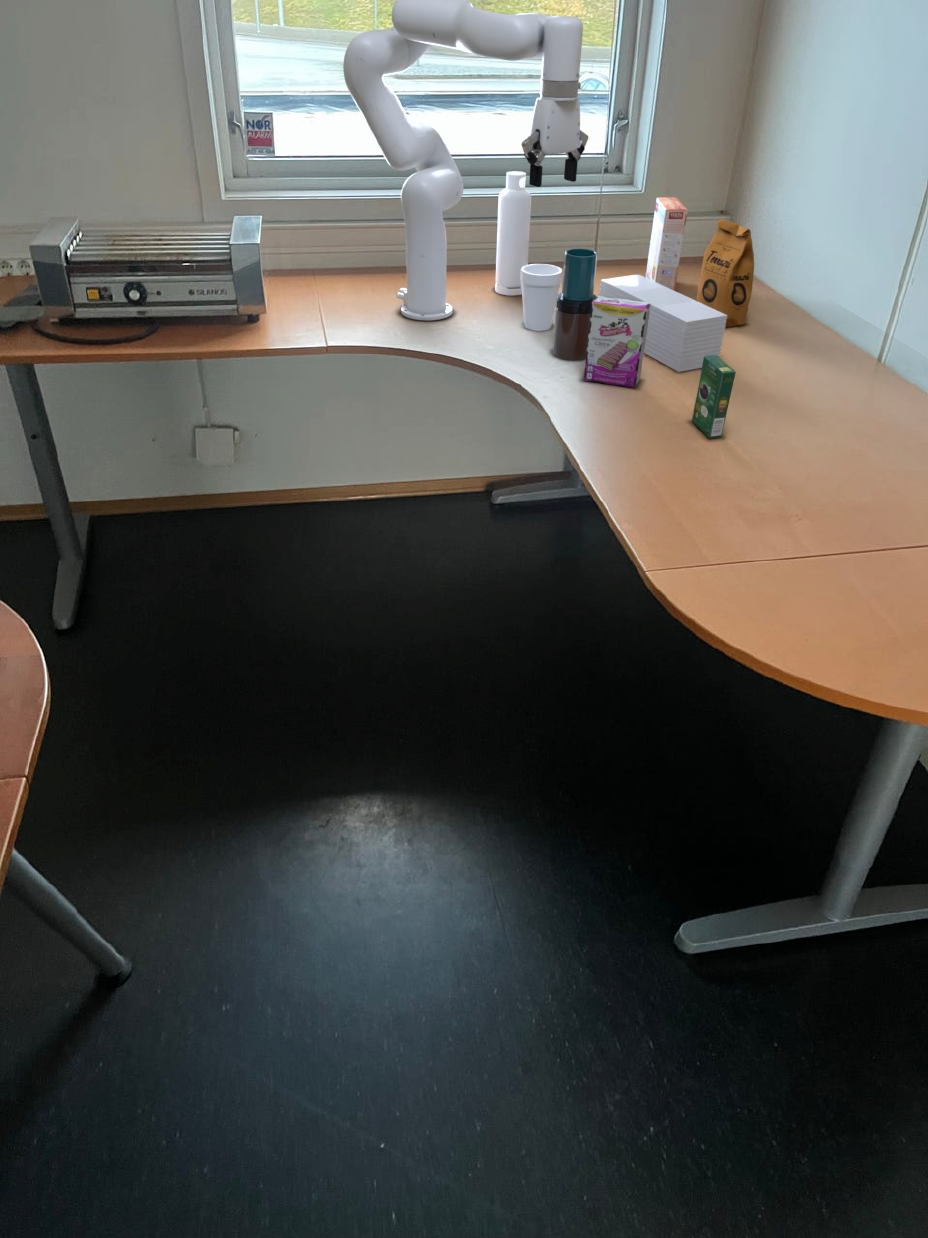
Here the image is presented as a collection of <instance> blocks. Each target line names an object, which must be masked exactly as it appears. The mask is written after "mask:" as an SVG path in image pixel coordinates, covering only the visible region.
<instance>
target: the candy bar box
mask: <svg viewBox="0 0 928 1238" xmlns="http://www.w3.org/2000/svg"><path fill="white" fill-rule="evenodd" d="M650 307H651V303H649V302H642V301H634V300H626V299H619V298H612V297H604V296H599V295H596V298H595V300H593V302H592V307H591V317H590V326H589V335H588V344H587V353H586V359H585V364H584V371H583V372H584V373H583V381H586V382H592V383H599V384H604V385H605V384H606V385H610V386H611V385H612V386H618V387H625V388H632V389H636V388H637V385H638V384H639V381H640V380H641V374H642V368H643V367H642V366H643V362H644V361H643V360H644V354H645V353H644V347H645V341H646V333H647V327H648V320H649V314H650Z"/></svg>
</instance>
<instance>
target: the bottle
mask: <svg viewBox="0 0 928 1238" xmlns="http://www.w3.org/2000/svg"><path fill="white" fill-rule="evenodd" d="M505 179H506V180H505V188H504V189H502V190H501V191H500V193H499V195H498V206H497V231H496V232H497V233H496V257H495V284H494V291H495V293H497V294H499V295H502V296H504V295H505V296H522V284H521V280H520V277H521V268H522V267H523V266H526V265H529V249H530V233H531V232H530V231H531V216H532V215H531V213H532V194H531V192H530V191H529V190H528V189H526V181H527V180H526V179H527V173H526V172H524V171H518V170H517V171H516V170H515V171H514V170H513V171H512V170H511V171H507V172H506V175H505Z"/></svg>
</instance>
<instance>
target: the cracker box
mask: <svg viewBox="0 0 928 1238" xmlns="http://www.w3.org/2000/svg"><path fill="white" fill-rule="evenodd" d="M654 207H655V208H654V215H653V221H652V227H651V228H652V229H651V236H650V241H649V249H648V256H647V264H646V271H645V276H644V277H645V278H648V279H650V280H652V281H654V282H656V283H658V284H661V285H663V286H665V287H667V288H669V289H671V290H674V291H676V285H677V278H678V272H679V266H680V260H681V255H682V248H683V240H684V235H685V229H686V224H687V217H688V209H687V207H686V206H685V205H684V204H683V203H682V202H681V200H680V199H679V198H678V197H668V196H667V197H663V196H662V197H656V199H655V206H654Z"/></svg>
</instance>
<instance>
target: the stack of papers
mask: <svg viewBox="0 0 928 1238" xmlns="http://www.w3.org/2000/svg"><path fill="white" fill-rule="evenodd" d="M645 277H646V276H643V275H641V274H631V275H624V276H617V277H610V278H602V279H600V282H599V283H600V284H599V291H598V292H599V293H598V296H604V297H612V298H619V299H626V300H634V301H642V302H649V303H651V307H650V314H649V320H648V327H647V333H646V341H645V347H644V354H645V355H648V356H649V357H651V358H652V359H654V360H656V361H658V362H659V363H661V364H663V365H664V366H667V367H668V368H670V369H672V370H674V371H675V372H677V373H681V372H686V371H691V370H696V369H702V364H703V359H704V356H707V355H717V356H718V357H719V358H721V357H720V356H721V351H722V347H723V341H724V336H725V331H726V330H725V329H726V327H727V326H726V325H725V324H726V319H727V315H726V314H723V313H721V312H719V311H717V310H715V309H713V308H710V307H708V306H706V305H704V304H702V303H700V302H697V300H695V299H693V298H691V297H689V296H687V295H684V294H682V293H680V292H678V291H676V290H675V291H674V290H671V289H669V288H667V287H665V286H663V285H661V284H658V283H656V282H654V281H652V280H650V279H648V278H645ZM725 326H726V327H725Z"/></svg>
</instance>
